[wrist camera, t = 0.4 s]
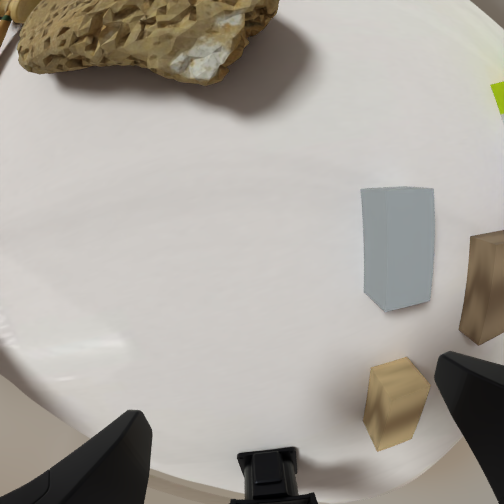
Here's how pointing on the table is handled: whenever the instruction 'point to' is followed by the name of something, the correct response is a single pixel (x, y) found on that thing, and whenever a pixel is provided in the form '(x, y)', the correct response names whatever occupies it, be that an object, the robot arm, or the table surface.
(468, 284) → the walnut block
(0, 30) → the kendama
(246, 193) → the table surface
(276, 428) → the table surface
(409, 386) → the oak block
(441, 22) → the table surface
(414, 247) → the grey block
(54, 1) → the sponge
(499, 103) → the puzzle toy
